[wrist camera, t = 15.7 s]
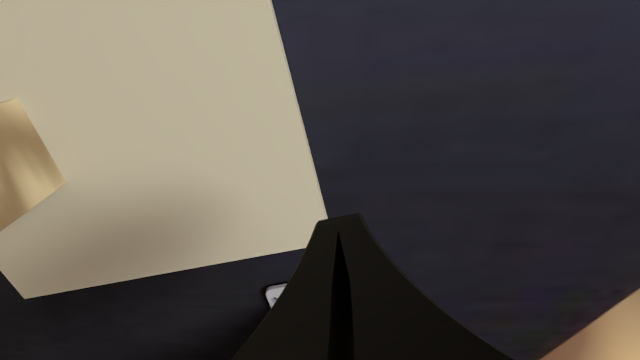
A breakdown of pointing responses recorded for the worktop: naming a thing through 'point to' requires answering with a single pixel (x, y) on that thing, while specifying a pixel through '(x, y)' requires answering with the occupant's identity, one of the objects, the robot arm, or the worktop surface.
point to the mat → (154, 139)
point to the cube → (23, 164)
